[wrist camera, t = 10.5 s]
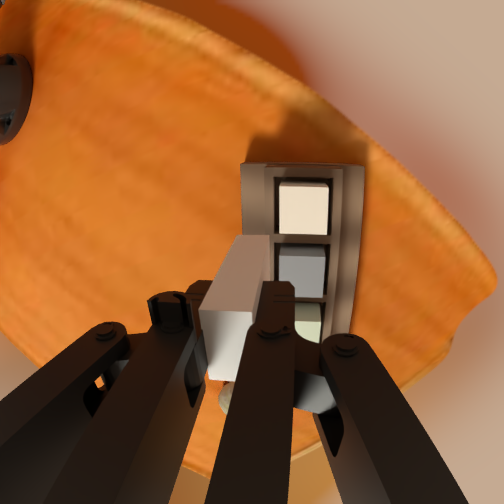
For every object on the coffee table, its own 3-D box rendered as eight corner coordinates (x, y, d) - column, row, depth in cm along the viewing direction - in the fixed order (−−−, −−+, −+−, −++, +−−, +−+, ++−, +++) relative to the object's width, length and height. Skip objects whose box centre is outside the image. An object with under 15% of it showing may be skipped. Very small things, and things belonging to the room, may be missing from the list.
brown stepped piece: (244, 162, 32) (234, 166, 26) (359, 164, 30) (371, 169, 25) (250, 356, 40) (244, 384, 35) (339, 360, 39) (343, 388, 34)
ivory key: (281, 180, 28) (279, 186, 25) (324, 181, 28) (328, 187, 24) (281, 222, 30) (279, 233, 26) (323, 223, 29) (326, 234, 26)
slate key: (281, 242, 30) (279, 255, 27) (322, 243, 30) (325, 256, 26) (280, 280, 32) (278, 296, 28) (320, 281, 31) (322, 297, 28)
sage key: (280, 301, 31) (277, 320, 28) (319, 303, 31) (321, 321, 28) (279, 333, 33) (276, 353, 30) (316, 334, 32) (317, 355, 29)
